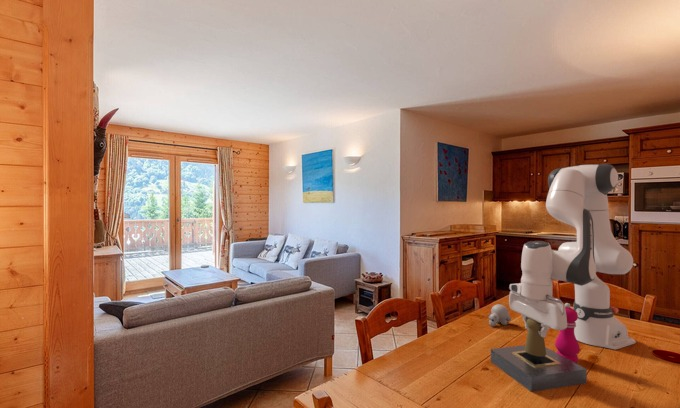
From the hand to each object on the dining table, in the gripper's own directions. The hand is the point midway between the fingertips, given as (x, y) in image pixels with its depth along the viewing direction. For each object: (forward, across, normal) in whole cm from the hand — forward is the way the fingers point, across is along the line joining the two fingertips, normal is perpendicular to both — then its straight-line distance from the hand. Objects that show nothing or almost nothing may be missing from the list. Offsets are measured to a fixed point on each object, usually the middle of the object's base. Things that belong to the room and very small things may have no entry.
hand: (535, 332), depth 106 cm
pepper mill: (+13, +5, -18) cm, 23 cm away
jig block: (+13, 0, 0) cm, 13 cm away
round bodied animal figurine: (+13, +38, -16) cm, 43 cm away
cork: (+6, 0, 0) cm, 6 cm away
